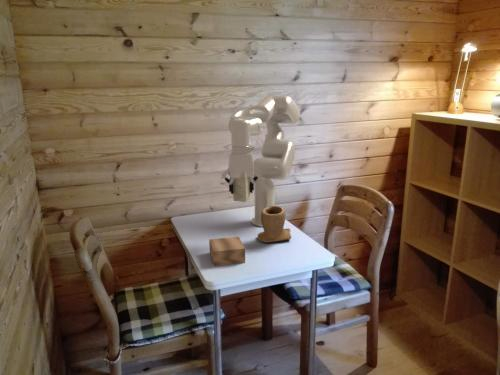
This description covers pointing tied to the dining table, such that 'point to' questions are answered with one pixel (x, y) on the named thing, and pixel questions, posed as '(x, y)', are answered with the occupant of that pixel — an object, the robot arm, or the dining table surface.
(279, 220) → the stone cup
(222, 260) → the walnut block
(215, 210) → the dining table surface
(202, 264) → the dining table surface
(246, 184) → the skincare box
